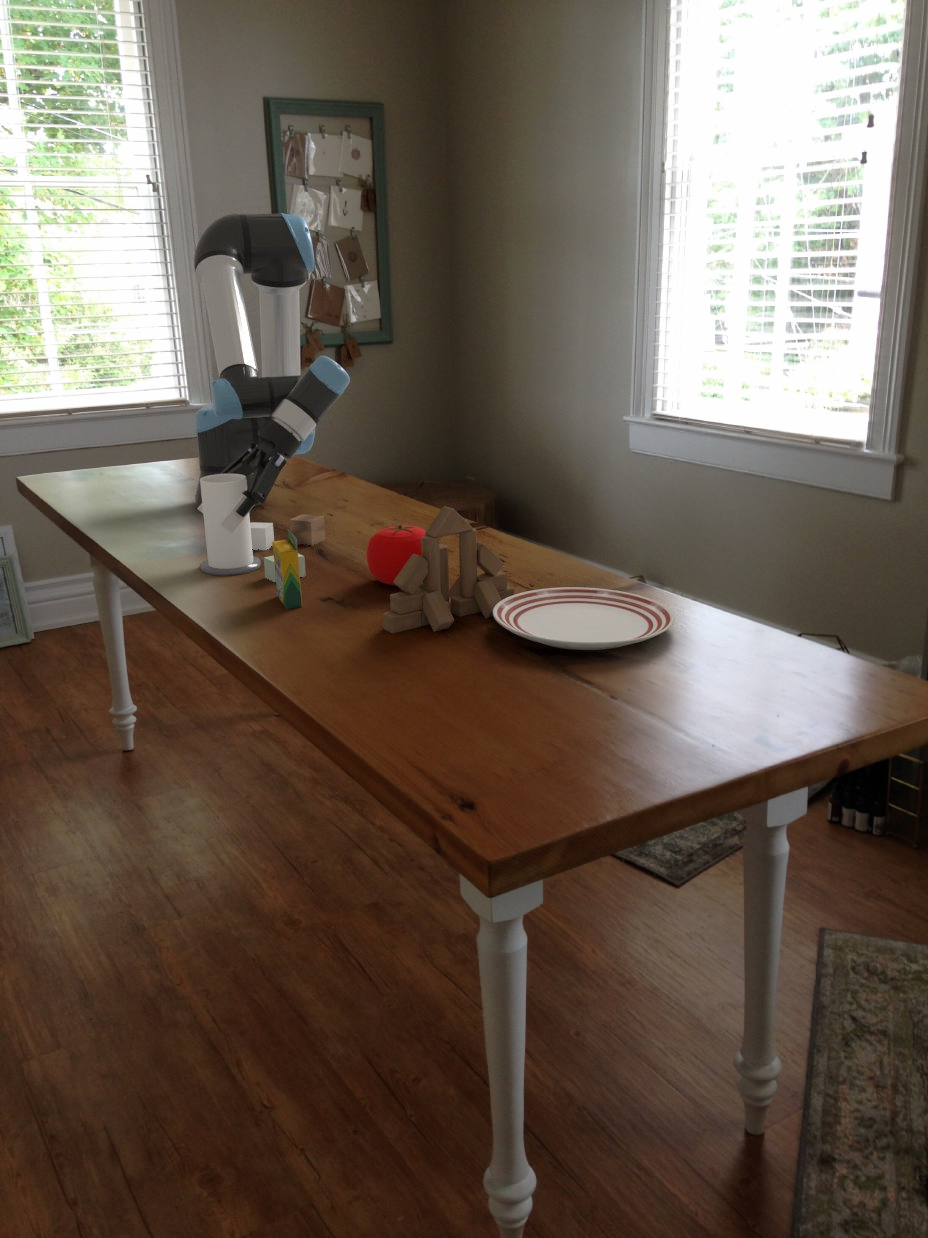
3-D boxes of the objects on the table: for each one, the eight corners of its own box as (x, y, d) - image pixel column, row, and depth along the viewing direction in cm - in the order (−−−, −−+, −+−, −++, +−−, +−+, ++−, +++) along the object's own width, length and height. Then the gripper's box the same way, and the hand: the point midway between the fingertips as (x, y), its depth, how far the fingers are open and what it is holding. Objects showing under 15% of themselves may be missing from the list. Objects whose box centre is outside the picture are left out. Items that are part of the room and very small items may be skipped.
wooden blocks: (409, 643, 155) (405, 527, 149) (367, 622, 165) (361, 511, 159) (539, 610, 169) (540, 502, 163) (493, 591, 178) (492, 489, 172)
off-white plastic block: (245, 549, 206) (243, 527, 204) (253, 544, 210) (251, 522, 209) (266, 550, 205) (265, 528, 204) (274, 544, 209) (272, 522, 208)
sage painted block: (265, 578, 187) (263, 557, 186) (294, 572, 191) (293, 551, 190) (276, 583, 184) (274, 562, 183) (305, 577, 188) (304, 555, 187)
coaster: (189, 567, 194) (188, 563, 194) (239, 555, 202) (239, 551, 201) (222, 579, 187) (221, 574, 187) (272, 566, 194) (272, 562, 194)
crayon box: (276, 596, 177) (270, 530, 173) (293, 594, 178) (288, 528, 174) (284, 609, 171) (279, 540, 167) (302, 607, 171) (297, 538, 168)
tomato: (375, 595, 177) (372, 535, 173) (362, 576, 187) (359, 519, 184) (443, 588, 180) (441, 529, 176) (427, 570, 190) (425, 514, 187)
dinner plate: (560, 592, 178) (560, 573, 176) (706, 625, 161) (707, 604, 160) (456, 636, 158) (455, 615, 157) (610, 679, 141) (611, 656, 140)
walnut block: (291, 543, 210) (289, 519, 208) (304, 537, 214) (303, 514, 212) (312, 546, 208) (310, 521, 206) (325, 540, 212) (324, 516, 210)
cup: (258, 556, 198) (251, 473, 192) (245, 569, 190) (238, 482, 185) (216, 556, 198) (208, 473, 193) (202, 568, 191) (193, 482, 185)
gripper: (326, 453, 184) (252, 547, 182) (276, 434, 205) (209, 519, 202) (296, 425, 180) (219, 522, 178) (248, 409, 200) (179, 495, 198)
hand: (214, 520), depth 190 cm, fingers open, 13 cm apart
